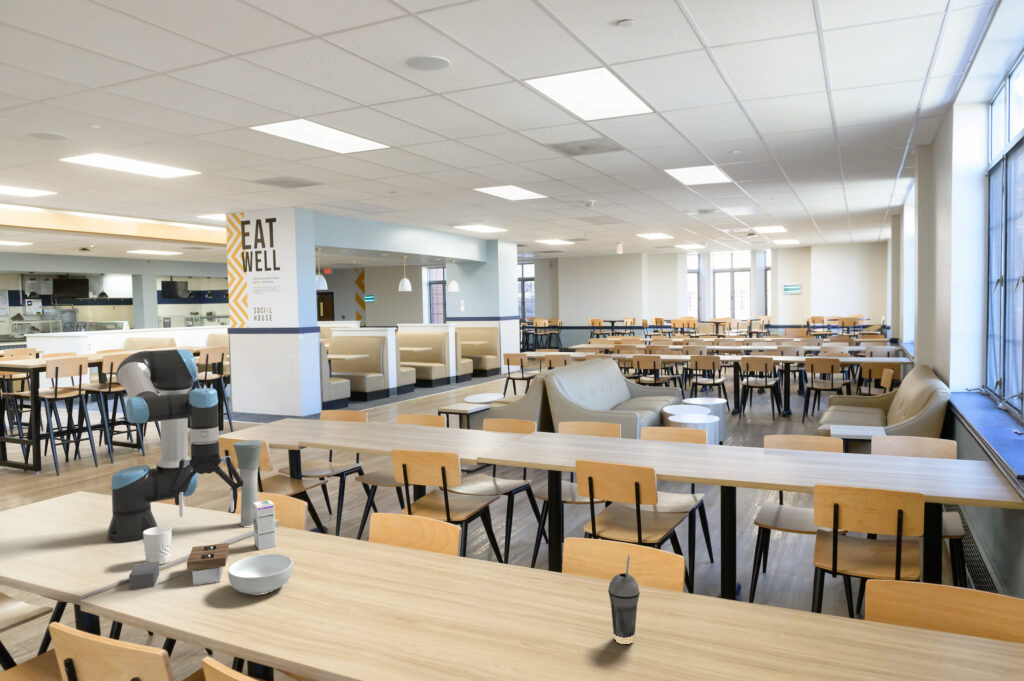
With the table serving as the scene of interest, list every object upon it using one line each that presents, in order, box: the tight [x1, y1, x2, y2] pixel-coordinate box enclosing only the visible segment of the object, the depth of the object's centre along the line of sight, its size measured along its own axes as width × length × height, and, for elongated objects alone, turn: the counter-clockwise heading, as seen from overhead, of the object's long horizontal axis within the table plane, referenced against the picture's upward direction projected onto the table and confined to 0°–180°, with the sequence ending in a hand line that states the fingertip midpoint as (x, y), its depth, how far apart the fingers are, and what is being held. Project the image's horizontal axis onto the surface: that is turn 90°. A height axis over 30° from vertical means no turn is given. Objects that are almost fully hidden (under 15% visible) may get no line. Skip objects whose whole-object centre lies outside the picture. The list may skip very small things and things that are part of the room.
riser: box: [128, 562, 160, 591], centre depth 191 cm, size 9×6×4 cm, turn 19°
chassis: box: [192, 546, 224, 586], centre depth 196 cm, size 15×7×7 cm, turn 19°
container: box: [233, 439, 263, 526], centre depth 241 cm, size 10×10×30 cm
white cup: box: [143, 525, 173, 564], centre depth 206 cm, size 8×8×10 cm
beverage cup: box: [607, 554, 641, 638], centre depth 154 cm, size 7×7×20 cm
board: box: [186, 542, 230, 572], centre depth 196 cm, size 13×10×2 cm
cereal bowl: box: [227, 553, 294, 595], centre depth 185 cm, size 17×17×7 cm
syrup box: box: [253, 499, 277, 551], centre depth 219 cm, size 6×6×14 cm
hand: (207, 513), depth 195 cm, fingers open, 13 cm apart
